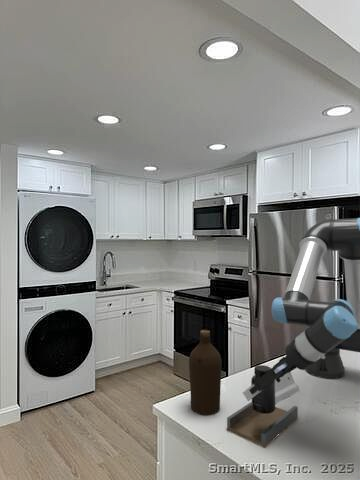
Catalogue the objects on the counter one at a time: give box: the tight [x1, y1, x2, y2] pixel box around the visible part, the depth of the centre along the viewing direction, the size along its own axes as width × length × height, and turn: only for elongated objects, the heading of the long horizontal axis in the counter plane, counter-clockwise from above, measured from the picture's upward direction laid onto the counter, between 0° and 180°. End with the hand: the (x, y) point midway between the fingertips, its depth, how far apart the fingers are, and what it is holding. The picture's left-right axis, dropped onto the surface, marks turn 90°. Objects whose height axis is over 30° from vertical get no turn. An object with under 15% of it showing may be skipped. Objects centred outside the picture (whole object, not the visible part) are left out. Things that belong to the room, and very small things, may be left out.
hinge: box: [270, 367, 300, 404], centre depth 119 cm, size 17×5×10 cm, turn 130°
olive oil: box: [188, 329, 223, 416], centre depth 109 cm, size 11×11×25 cm
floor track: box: [226, 401, 299, 448], centre depth 99 cm, size 20×12×4 cm, turn 136°
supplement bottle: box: [250, 364, 276, 414], centre depth 99 cm, size 7×7×12 cm
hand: (252, 392), depth 101 cm, fingers closed on supplement bottle, 7 cm apart
